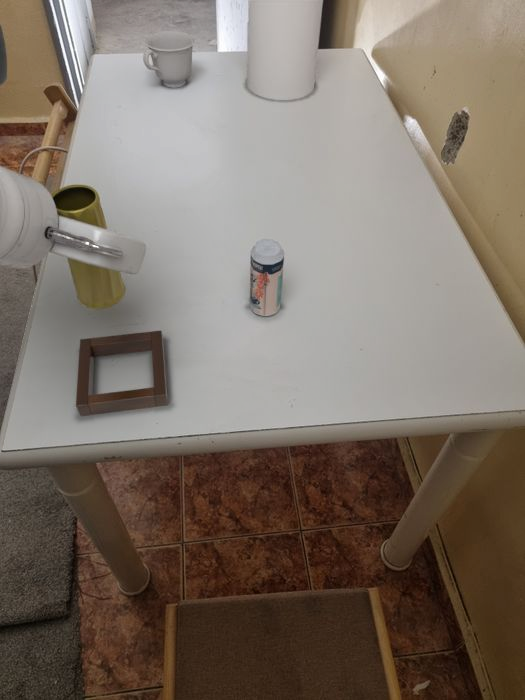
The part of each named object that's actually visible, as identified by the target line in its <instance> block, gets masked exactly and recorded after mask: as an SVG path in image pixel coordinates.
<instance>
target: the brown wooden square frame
mask: <svg viewBox="0 0 525 700" xmlns="http://www.w3.org/2000/svg"><path fill="white" fill-rule="evenodd" d="M164 343H165V342H164V337H163V332H162V330H153V331H143V332H134V333H124V334H114V335H105V336H98V337H97V336H96V337H90V338H80V340H79V351H78V364H77V365H78V368H77V383H76V395H75V396H76V399H75V407H76V409H77V411H78V414H79V416H80V417H85V416H86V417H87V416H92V415H93V416H94V415H102V414H108V413H116V412H124V411H125V412H126V411H132V410H140V409H147V408H155V407H156V408H157V407H163V406H164V407H165V406H168V405H169V400H168V386H167V384H168V383H167V371H166V370H167V369H166V358H165V357H166V356H165V345H164ZM149 351H151V353H152V354H151V357H152V358H151V359H152V375H153V378H152V379H153V387H146V388H138V389H129V390H128V389H127V390H121V391H113V392H105V393H97V394H94V376H95V375H94V373H95V358H96V357H104V356H105V357H106V356H115V355H122V354H130V353H131V354H132V353H141V352H149Z"/></svg>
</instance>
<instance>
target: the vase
mask: <svg viewBox="0 0 525 700" xmlns="http://www.w3.org/2000/svg"><path fill="white" fill-rule="evenodd" d="M50 195H51V196H52V198H53V200H54V203H55V206H56V209H57V214H58V215H60V216H64V217H67V218H70V219H74V220H77V221H80V222H84V223H87V224H91V225H94V226H97V227H101V228H104V229H107V230H108V226H107V222H106V218H105V213H104V209H103V208H102V204H101V200H100V195H99V193H98V191H97V190H96V188H94V187H92V186H90V185H87V184H70V185H66V186H63V187H60V188H59V189H57V190H56V191H54V192H53V193H52V194H50ZM66 259H67V262H68V266H69V270H70V274H71V278H72V282H73V285H74V289H75V292H76V298H77V300H78V302H79V303H80V304H81V305H82V306H84V307H85V308H88V309H93V310H104V309H107V308H110V307H113V306H115V305H116V304H118V303H120V302H121V300H123V298H124V297H125V294H126V291H127V290H126V288H127V287H126V284H125V282H124V281H123V277H122V274H121V272H118V271H113V270H109V269H105V268H100V267H97V266H93V265H89V264H86V263H83V262H79V261H76V260H73V259H70V258H67V257H66Z"/></svg>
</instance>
